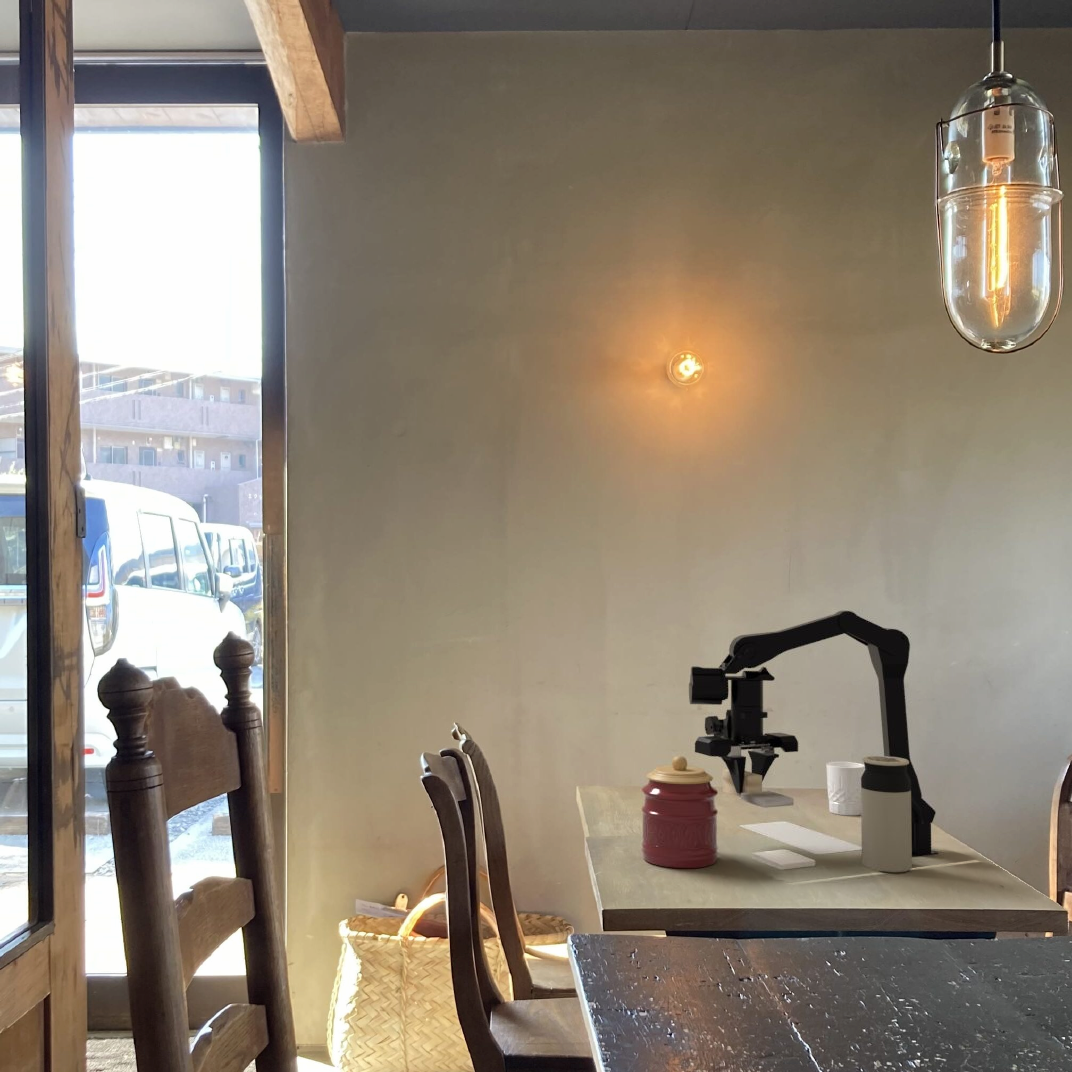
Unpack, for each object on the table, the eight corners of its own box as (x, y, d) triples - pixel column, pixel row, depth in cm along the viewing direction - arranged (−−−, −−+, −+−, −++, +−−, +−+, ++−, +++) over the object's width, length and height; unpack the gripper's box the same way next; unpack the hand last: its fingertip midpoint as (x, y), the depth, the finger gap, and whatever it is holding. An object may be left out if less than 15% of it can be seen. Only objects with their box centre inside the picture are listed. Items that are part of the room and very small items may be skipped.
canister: (721, 853, 181) (721, 752, 182) (713, 872, 169) (713, 763, 170) (648, 848, 185) (648, 748, 186) (635, 866, 172) (635, 759, 173)
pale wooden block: (793, 805, 177) (793, 781, 177) (764, 807, 175) (764, 783, 175) (743, 789, 191) (743, 767, 191) (715, 791, 189) (715, 769, 189)
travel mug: (879, 875, 168) (878, 763, 169) (852, 863, 176) (851, 756, 177) (922, 872, 170) (920, 762, 171) (893, 860, 178) (891, 754, 179)
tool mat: (867, 851, 184) (867, 848, 184) (817, 856, 180) (817, 854, 180) (784, 823, 206) (784, 821, 206) (738, 827, 202) (738, 825, 202)
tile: (785, 858, 180) (815, 870, 172) (752, 863, 177) (781, 875, 169) (785, 849, 180) (815, 860, 172) (752, 853, 177) (781, 864, 170)
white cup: (861, 809, 220) (860, 761, 221) (869, 817, 212) (868, 768, 213) (823, 808, 221) (823, 761, 222) (830, 816, 213) (829, 767, 214)
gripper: (763, 699, 197) (763, 782, 196) (678, 702, 189) (678, 788, 188) (800, 705, 186) (800, 792, 185) (712, 708, 179) (711, 799, 178)
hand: (747, 792), depth 185 cm, fingers closed on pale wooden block, 3 cm apart
